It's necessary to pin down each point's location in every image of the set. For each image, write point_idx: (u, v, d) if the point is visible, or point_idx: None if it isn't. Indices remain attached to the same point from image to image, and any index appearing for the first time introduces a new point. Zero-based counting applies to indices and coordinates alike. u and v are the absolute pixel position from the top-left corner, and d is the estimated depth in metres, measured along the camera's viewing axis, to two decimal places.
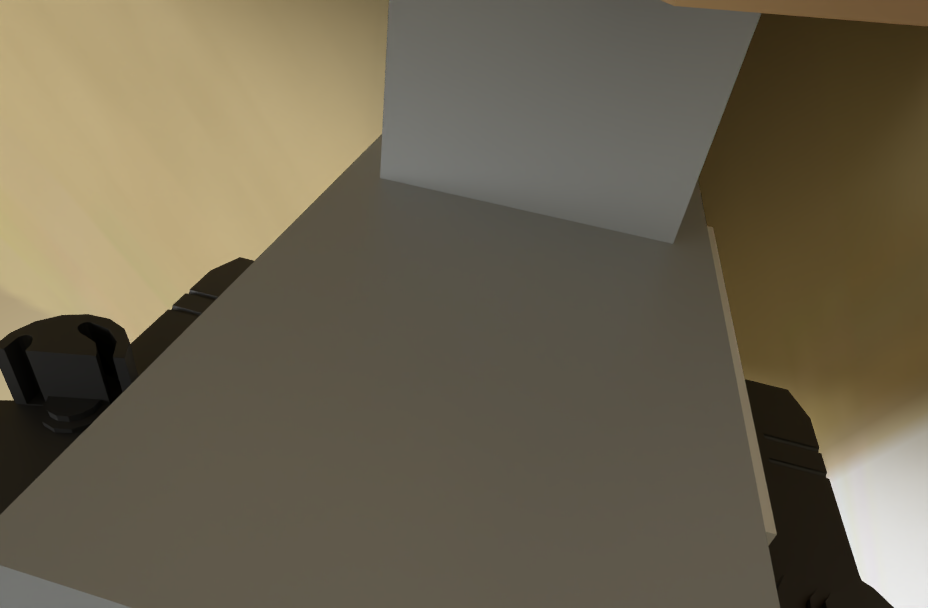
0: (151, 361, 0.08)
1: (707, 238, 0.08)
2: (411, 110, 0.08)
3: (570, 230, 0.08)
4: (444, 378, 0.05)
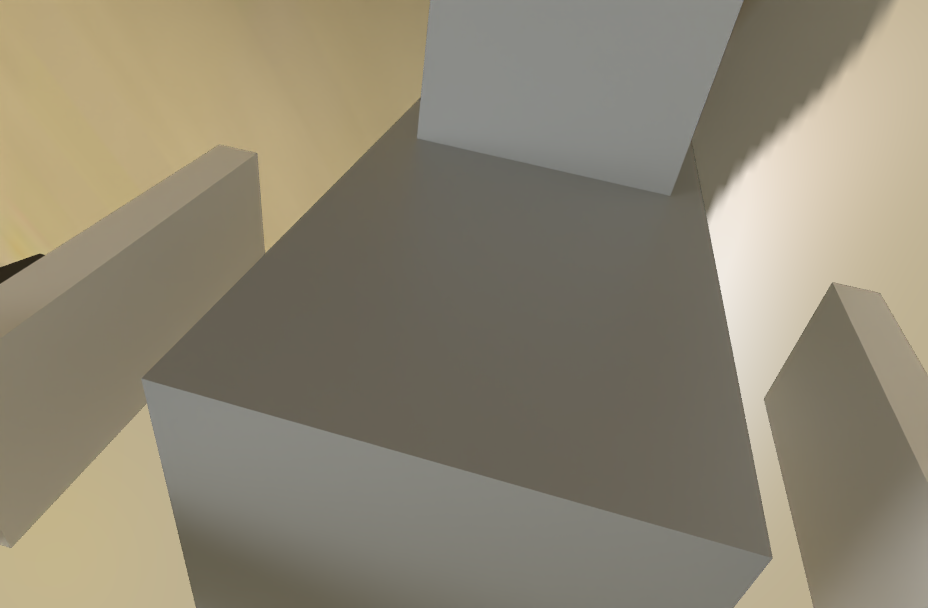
0: None
1: (700, 192, 0.10)
2: (447, 78, 0.09)
3: (582, 183, 0.09)
4: (486, 285, 0.07)
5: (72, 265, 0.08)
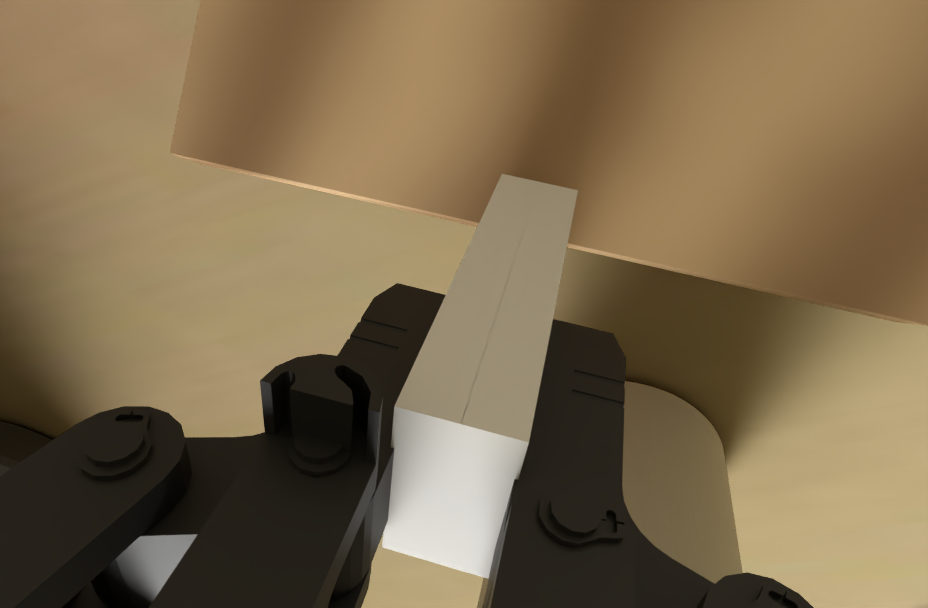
0: None
1: None
2: None
3: None
4: None
5: (478, 298, 0.08)
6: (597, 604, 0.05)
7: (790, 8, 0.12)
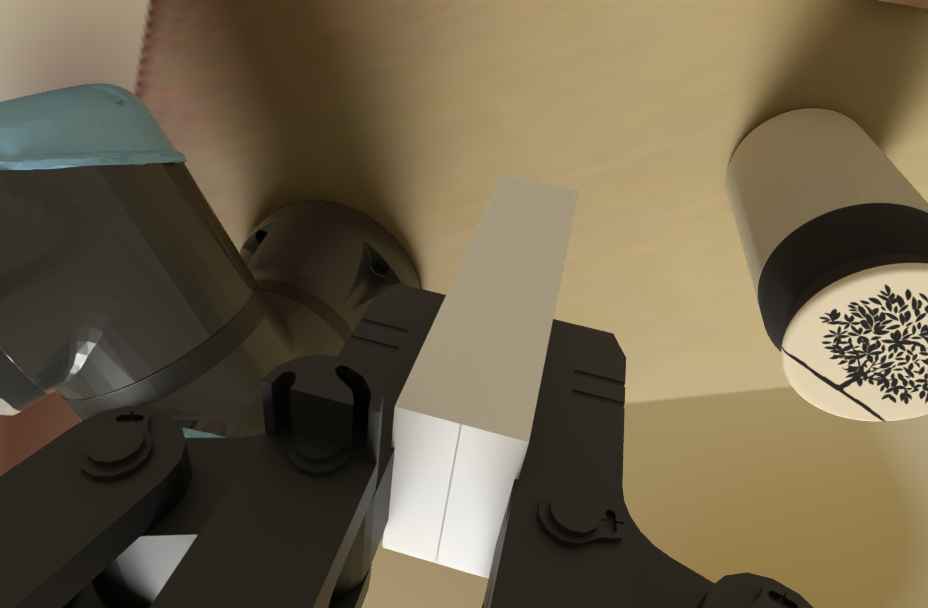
0: None
1: None
2: None
3: None
4: None
5: (478, 298, 0.08)
6: (596, 604, 0.05)
7: None
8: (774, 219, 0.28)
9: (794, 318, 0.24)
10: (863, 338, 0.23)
